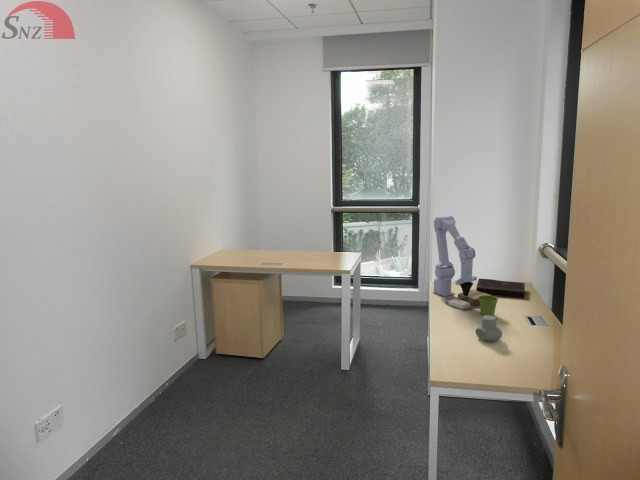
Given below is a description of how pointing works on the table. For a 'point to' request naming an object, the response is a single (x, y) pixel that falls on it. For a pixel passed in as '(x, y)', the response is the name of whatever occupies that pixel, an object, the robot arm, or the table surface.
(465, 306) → the off-white rectangular block
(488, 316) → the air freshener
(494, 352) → the table surface
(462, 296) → the brown shallow square box
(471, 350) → the table surface
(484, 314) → the plant pot
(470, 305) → the mat
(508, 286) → the diary
